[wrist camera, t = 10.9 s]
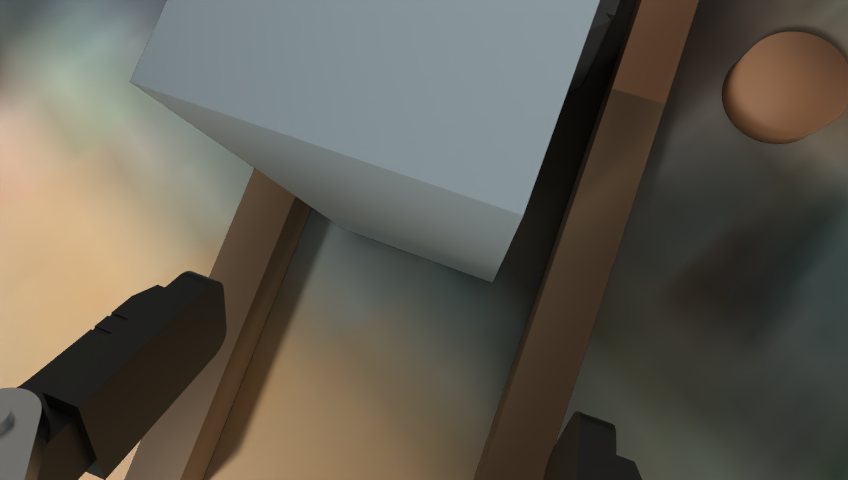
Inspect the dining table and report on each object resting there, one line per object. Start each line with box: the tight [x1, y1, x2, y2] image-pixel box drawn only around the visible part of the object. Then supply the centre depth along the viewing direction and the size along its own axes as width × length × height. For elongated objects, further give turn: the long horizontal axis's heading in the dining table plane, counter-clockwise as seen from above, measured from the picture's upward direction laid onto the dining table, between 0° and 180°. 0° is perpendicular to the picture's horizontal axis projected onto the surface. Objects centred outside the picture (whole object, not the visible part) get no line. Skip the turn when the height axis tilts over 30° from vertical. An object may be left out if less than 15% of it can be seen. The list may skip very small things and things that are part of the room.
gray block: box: [130, 0, 600, 283], centre depth 11 cm, size 5×5×10 cm
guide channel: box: [124, 0, 848, 480], centre depth 14 cm, size 20×24×3 cm
